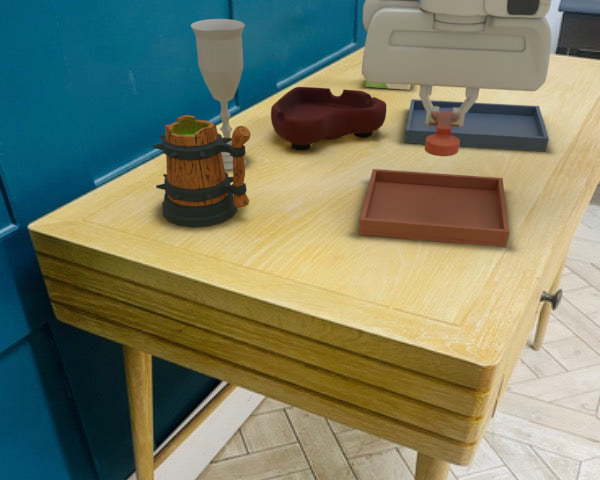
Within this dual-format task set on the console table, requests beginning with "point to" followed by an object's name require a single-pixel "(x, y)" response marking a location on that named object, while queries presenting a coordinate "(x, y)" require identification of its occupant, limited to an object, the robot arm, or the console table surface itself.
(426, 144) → the red stemmed disc figurine
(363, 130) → the ashtray
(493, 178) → the rust tray
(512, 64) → the robot arm
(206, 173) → the mug
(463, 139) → the blue tray
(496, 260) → the console table surface
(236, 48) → the chalice
